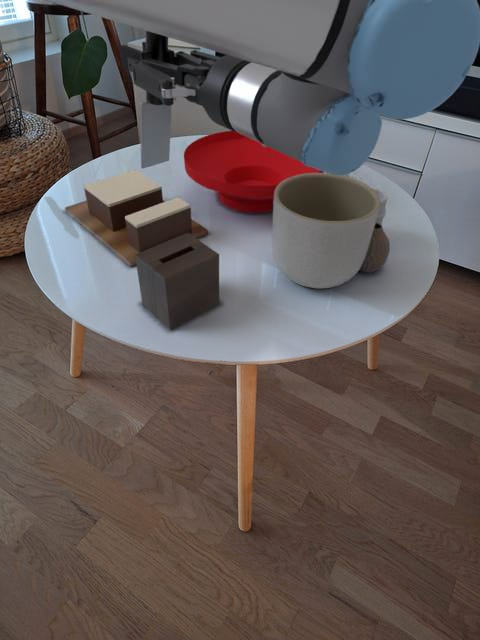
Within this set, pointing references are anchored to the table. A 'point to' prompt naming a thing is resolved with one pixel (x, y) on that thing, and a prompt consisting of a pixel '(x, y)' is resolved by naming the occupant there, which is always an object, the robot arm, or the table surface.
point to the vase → (376, 250)
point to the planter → (322, 227)
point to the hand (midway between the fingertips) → (134, 54)
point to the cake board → (118, 238)
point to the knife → (155, 112)
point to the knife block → (178, 279)
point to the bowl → (240, 170)
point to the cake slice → (158, 224)
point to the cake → (121, 197)
